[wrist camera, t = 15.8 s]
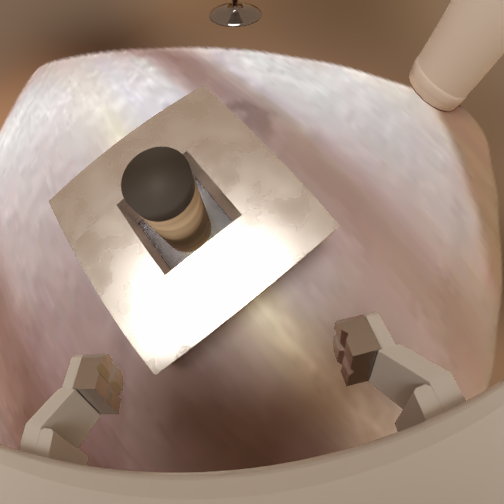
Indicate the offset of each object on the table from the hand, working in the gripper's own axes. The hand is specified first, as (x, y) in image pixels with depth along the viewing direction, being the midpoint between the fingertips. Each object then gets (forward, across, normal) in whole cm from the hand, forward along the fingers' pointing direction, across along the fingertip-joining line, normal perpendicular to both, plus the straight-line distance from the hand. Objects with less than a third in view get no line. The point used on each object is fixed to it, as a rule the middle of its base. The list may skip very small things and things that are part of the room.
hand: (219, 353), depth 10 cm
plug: (+16, +3, +3) cm, 17 cm away
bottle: (+27, -29, -6) cm, 40 cm away
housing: (+16, +3, +3) cm, 17 cm away
